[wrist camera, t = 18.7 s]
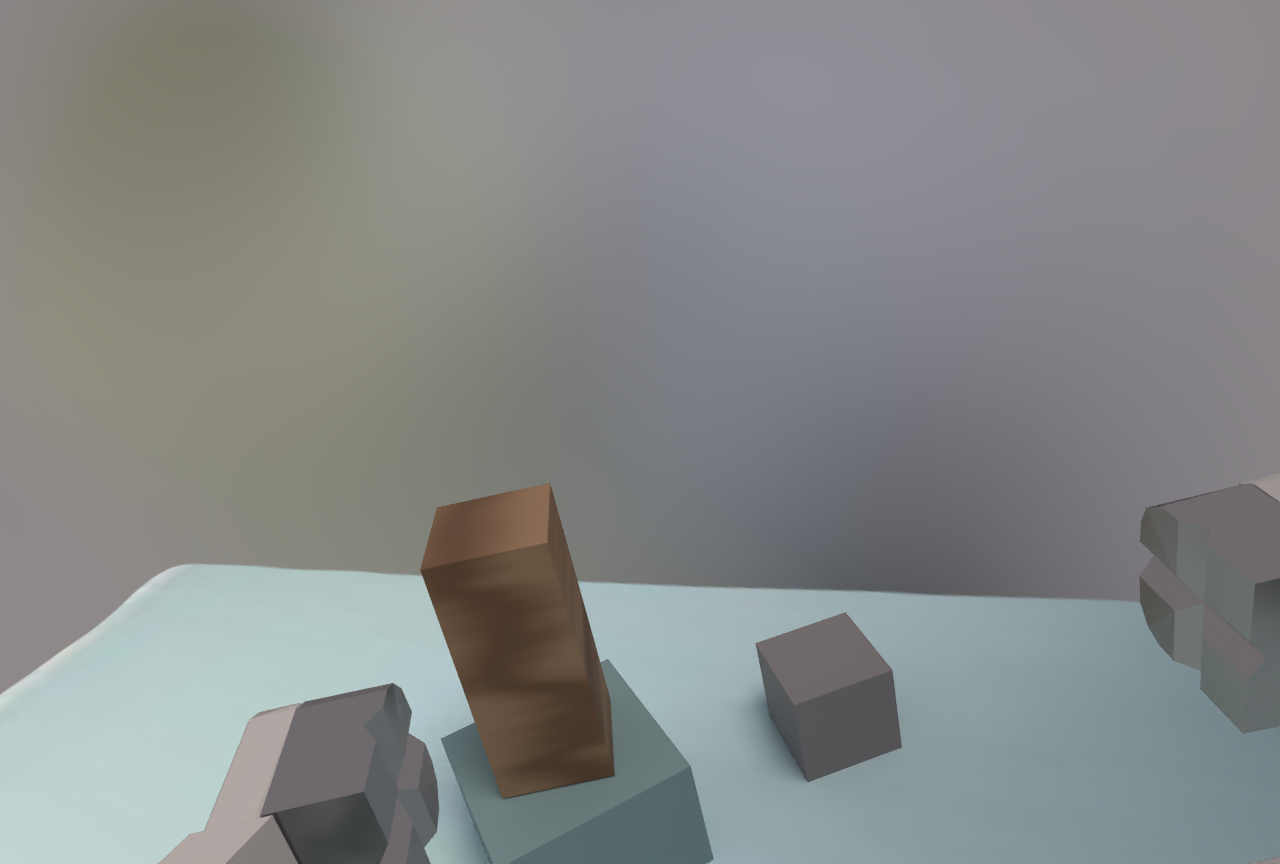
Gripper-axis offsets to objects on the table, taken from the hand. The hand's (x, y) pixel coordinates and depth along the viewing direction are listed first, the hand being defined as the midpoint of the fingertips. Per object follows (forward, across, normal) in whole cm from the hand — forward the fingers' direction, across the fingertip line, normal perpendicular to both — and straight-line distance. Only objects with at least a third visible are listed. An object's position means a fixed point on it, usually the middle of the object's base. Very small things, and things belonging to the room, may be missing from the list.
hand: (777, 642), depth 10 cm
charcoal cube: (+29, -5, +30) cm, 42 cm away
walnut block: (+26, +8, +24) cm, 36 cm away
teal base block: (+25, +8, +30) cm, 40 cm away
